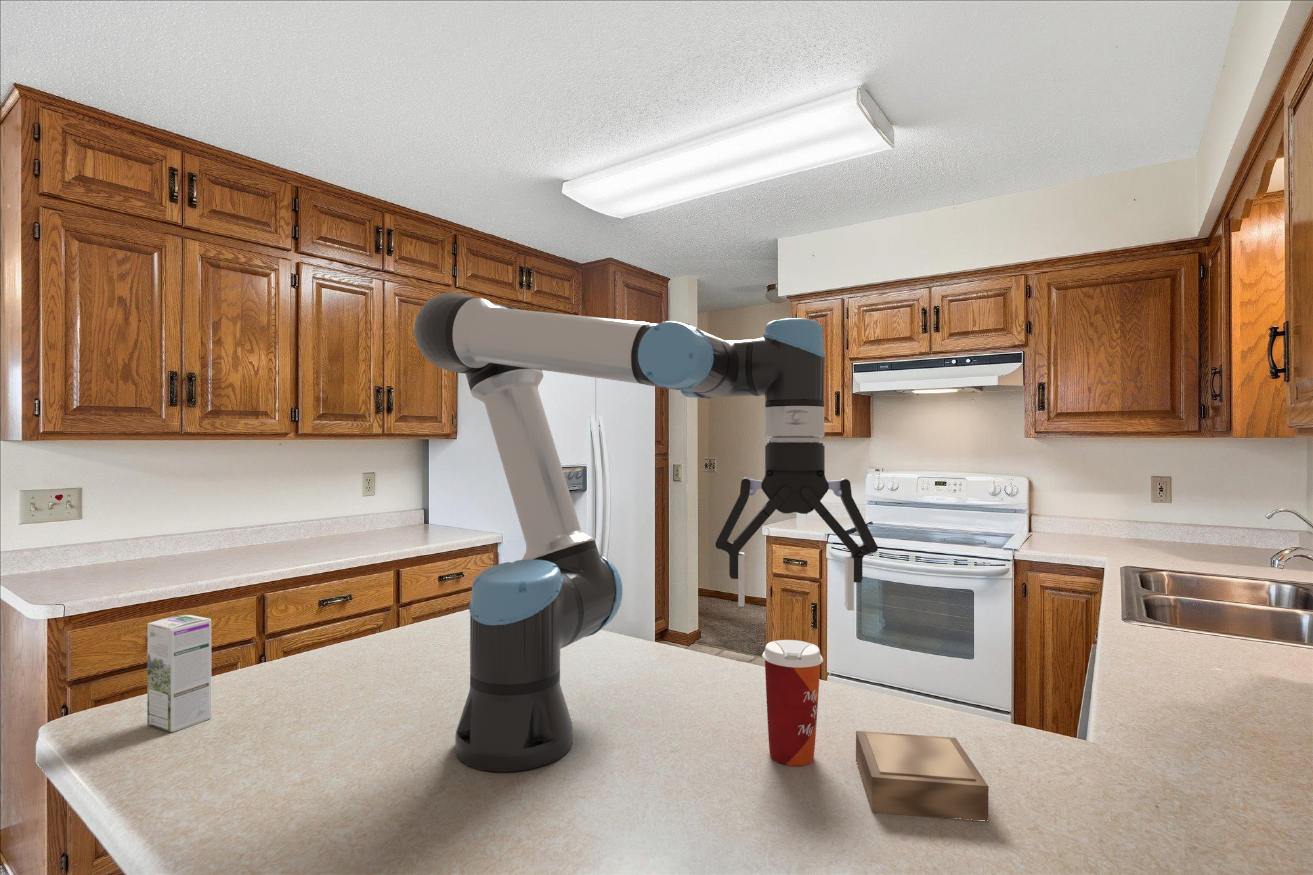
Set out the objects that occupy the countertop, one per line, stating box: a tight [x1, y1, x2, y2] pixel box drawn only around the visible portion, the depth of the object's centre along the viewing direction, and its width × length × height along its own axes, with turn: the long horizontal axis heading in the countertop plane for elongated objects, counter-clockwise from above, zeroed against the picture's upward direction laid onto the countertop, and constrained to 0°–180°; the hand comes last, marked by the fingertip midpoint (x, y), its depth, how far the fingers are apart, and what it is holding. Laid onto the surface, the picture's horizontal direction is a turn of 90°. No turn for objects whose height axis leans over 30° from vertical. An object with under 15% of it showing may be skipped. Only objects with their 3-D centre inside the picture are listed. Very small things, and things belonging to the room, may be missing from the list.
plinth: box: [855, 730, 989, 821], centre depth 79 cm, size 12×12×4 cm
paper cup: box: [761, 639, 824, 768], centre depth 87 cm, size 8×8×14 cm
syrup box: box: [146, 614, 212, 733], centre depth 95 cm, size 6×6×14 cm
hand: (794, 606), depth 87 cm, fingers open, 13 cm apart
